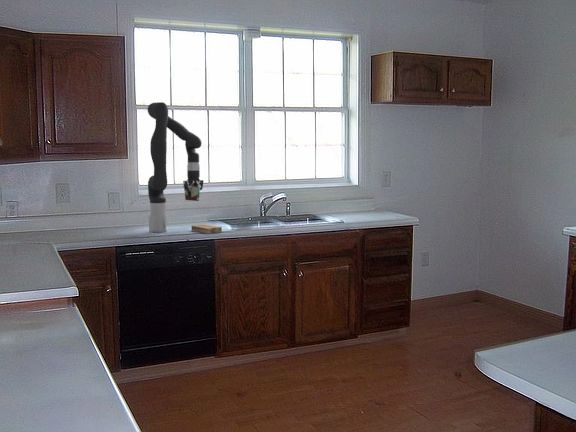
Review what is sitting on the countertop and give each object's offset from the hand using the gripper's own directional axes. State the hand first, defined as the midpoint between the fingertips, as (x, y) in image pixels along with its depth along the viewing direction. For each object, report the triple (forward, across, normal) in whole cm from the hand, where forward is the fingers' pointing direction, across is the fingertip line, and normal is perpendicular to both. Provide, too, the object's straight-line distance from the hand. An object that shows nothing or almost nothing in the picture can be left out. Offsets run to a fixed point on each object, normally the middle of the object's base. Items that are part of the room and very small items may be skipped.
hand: (193, 197), depth 389 cm
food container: (+2, +1, 0) cm, 2 cm away
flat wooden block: (+19, -5, -19) cm, 27 cm away
